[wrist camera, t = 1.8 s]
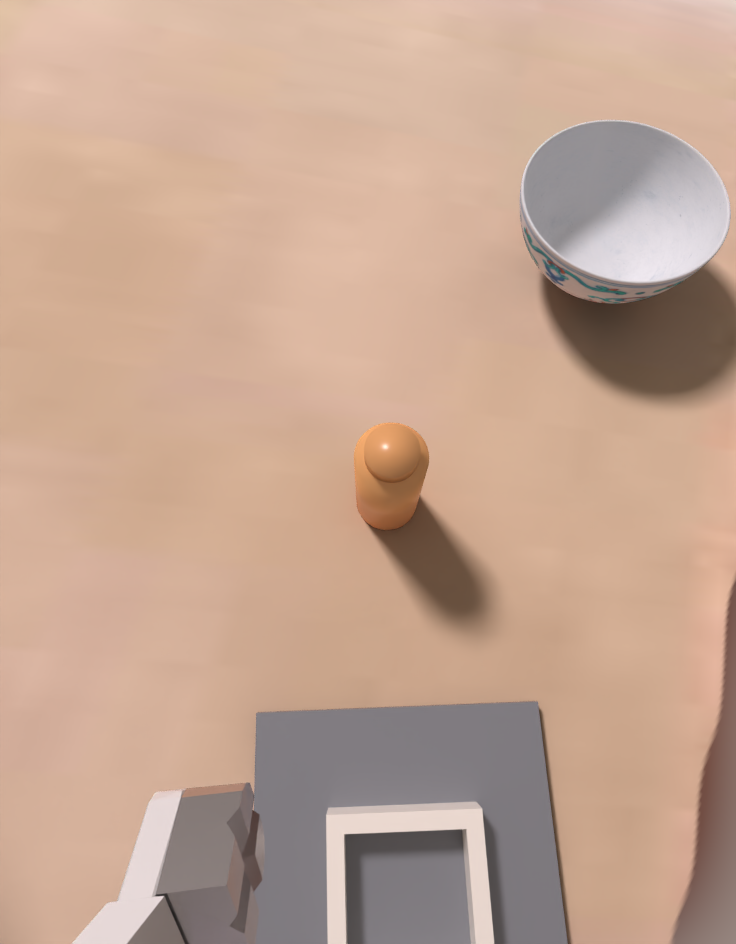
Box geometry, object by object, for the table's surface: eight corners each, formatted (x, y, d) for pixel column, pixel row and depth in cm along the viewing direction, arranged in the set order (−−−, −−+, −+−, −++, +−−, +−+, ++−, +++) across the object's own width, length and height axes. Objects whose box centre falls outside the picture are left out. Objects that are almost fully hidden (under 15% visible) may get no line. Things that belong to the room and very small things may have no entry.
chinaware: (480, 317, 48) (501, 252, 41) (519, 180, 53) (543, 101, 46) (664, 364, 47) (719, 306, 39) (687, 219, 51) (740, 144, 44)
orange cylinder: (357, 531, 42) (354, 487, 33) (355, 473, 44) (352, 415, 34) (418, 528, 42) (433, 484, 33) (414, 471, 44) (428, 412, 34)
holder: (249, 1113, 32) (238, 1153, 29) (258, 712, 38) (250, 714, 35) (582, 1097, 32) (602, 1135, 29) (534, 701, 38) (546, 703, 36)
